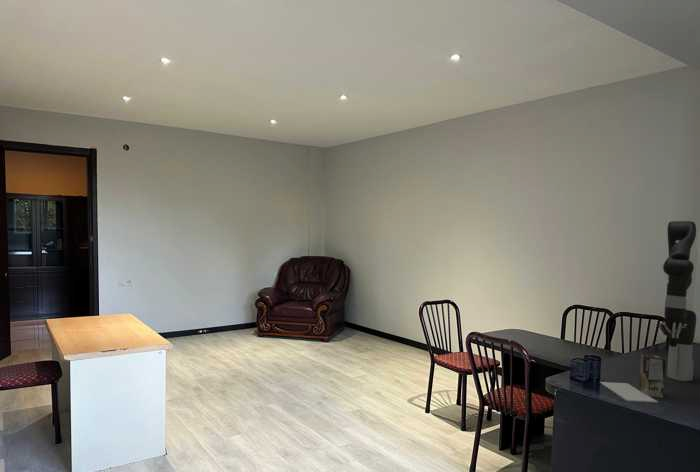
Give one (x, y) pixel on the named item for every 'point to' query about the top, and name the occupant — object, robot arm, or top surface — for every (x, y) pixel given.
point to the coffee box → (652, 375)
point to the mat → (628, 392)
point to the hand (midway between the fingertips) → (672, 346)
